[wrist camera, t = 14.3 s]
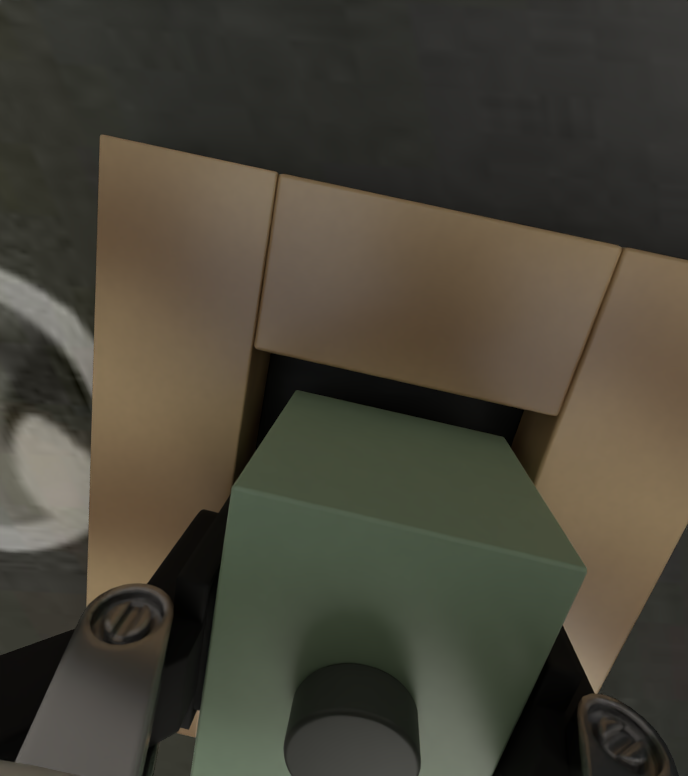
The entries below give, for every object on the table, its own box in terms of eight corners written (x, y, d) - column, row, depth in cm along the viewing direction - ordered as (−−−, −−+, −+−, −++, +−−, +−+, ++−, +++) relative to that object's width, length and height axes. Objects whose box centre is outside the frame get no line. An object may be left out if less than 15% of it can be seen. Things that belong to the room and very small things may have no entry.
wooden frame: (151, 155, 10) (99, 133, 9) (734, 280, 10) (815, 286, 8) (120, 653, 15) (82, 710, 13) (513, 749, 15) (531, 821, 13)
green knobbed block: (296, 388, 10) (208, 519, 5) (504, 436, 10) (621, 618, 5) (254, 616, 12) (164, 864, 7) (426, 658, 12) (453, 940, 7)
